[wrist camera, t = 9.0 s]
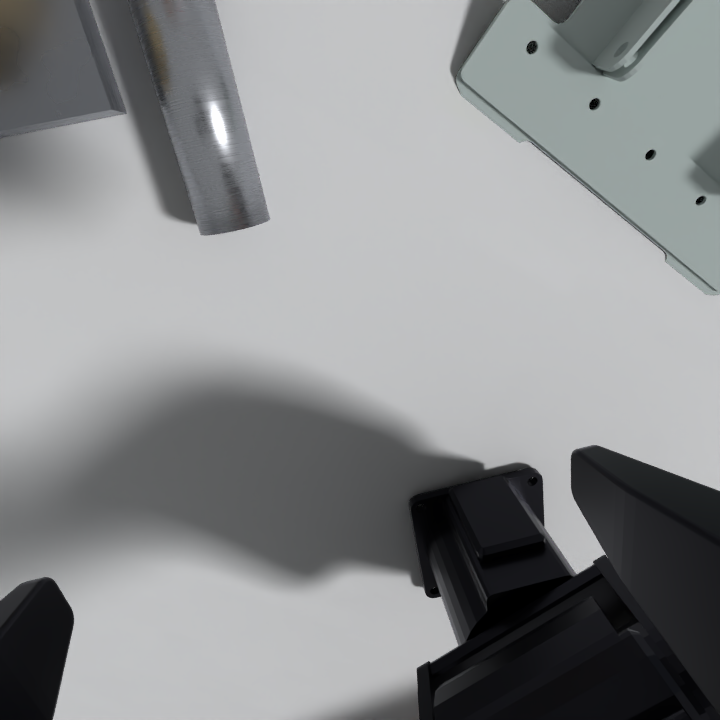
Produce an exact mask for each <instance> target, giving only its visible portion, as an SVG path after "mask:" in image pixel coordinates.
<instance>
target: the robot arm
mask: <svg viewBox="0 0 720 720" xmlns="http://www.w3.org/2000/svg"><path fill="white" fill-rule="evenodd" d="M532 477H533V478H532ZM530 478H532V480H529V479H530ZM528 480H529V481H528ZM571 490H572V494H573V497H574V499H575V501H576V503H577V505H578V507H579V508H580V510H581V512H582V514H583V515H584V517H585V519H586V520H587V522H588V524H589V526H590V527H591V529H592V531H593V533H594V534H595V536H596V538H597V540H598V541H599V543H600V545H601V546H602V548H603V550H604V552H605V553H606V555H607V557H608V558H607V557H606V555H603V556H601V557H600V558H598V559H596V560H595V561H593V563H594V564H593V565H592V566H590V567H588V568H587V569H585V570H584V571H582V572H580V573H579V574H577V575H576V573H575V572H574V570H573V569H572V567H571V566H570V564H569V563H568V561H567V560H566V559H565V557H564V556H563V554H562V553H561V551H560V550H559V548H558V547H557V545H556V544H555V543H554V541H553V540H552V538H551V537H550V535H549V534H548V532H547V531H546V529H545V528H544V505H543V479H542V476H541V475H540V473H539V472H538V471H537V470H536V469H534V468H527V469H523V470H519V471H514V472H510V473H506V474H502V475H498V476H494V477H490V478H485V479H481V480H477V481H473V482H469V483H465V484H461V485H456V486H452V487H448V488H444V489H440V490H436V491H432V492H428V493H423V494H419V495H416V496H414V497H413V498H411V500H410V501H409V509H410V515H411V520H412V526H413V531H414V537H415V542H416V548H417V554H418V559H419V565H420V570H421V576H422V581H423V587H424V590H425V593H426V595H427V596H428V597H429V598H437V597H442V600H443V603H444V606H445V608H446V611H447V614H448V617H449V620H450V623H451V626H452V628H453V631H454V634H455V637H456V640H457V643H458V647H456V648H455V649H453V650H451V651H450V652H448V653H446V654H445V655H443V656H441V657H440V658H438V659H436V660H435V661H433V662H431V663H430V662H429V661H428V662H426V663H425V664H423V665H421V666H420V667H418V668H417V681H418V703H419V719H420V720H720V491H718V490H715V489H713V488H710V487H707V486H705V485H702V484H699V483H697V482H694V481H691V480H689V479H686V478H683V477H681V476H678V475H675V474H673V473H670V472H667V471H665V470H662V469H659V468H657V467H654V466H651V465H649V464H646V463H643V462H641V461H638V460H635V459H633V458H630V457H627V456H625V455H622V454H619V453H617V452H614V451H611V450H609V449H606V448H603V447H601V446H597V445H592V446H588V447H583V448H579V449H576V450H574V451H573V452H572V455H571ZM420 504H424V505H423V506H421V507H417V506H418V505H420ZM434 587H435V588H434ZM73 625H74V615H73V611H72V609H71V607H70V605H69V604H68V602H67V600H66V599H65V597H64V595H63V594H62V592H61V590H60V589H59V587H58V585H57V584H56V582H55V581H54V580H53V579H51V578H49V577H43V578H39V579H35V580H31V581H27V582H24V583H22V584H20V585H19V586H17V587H16V588H15V589H14V590H13V591H11V592H10V593H9V594H8V595H7V596H5V597H4V598H3V599H2V600H1V601H0V720H53V716H54V712H55V708H56V704H57V699H58V695H59V690H60V685H61V681H62V676H63V672H64V667H65V662H66V658H67V653H68V649H69V644H70V640H71V635H72V630H73Z"/></svg>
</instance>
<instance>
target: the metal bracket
mask: <svg viewBox="0 0 720 720" xmlns="http://www.w3.org/2000/svg"><path fill="white" fill-rule="evenodd" d="M530 41H535V42H536V44H537V48H536V50H535V51H534V52H533V53H531V54H528V53H527V51H526V47H527V45H528V43H529V42H530ZM456 84H457V87H458V89H459V91H460V94H461V96H462V97H463V98H465V99H466V100H467V101H468V102H469V103H471V104H472V105H473V106H474V107H476V108H477V109H478V110H479V111H481V112H482V113H483V114H484V115H485V116H487V117H488V118H489V119H490V120H492V121H493V122H494V123H495V124H497V125H498V126H499V127H500V128H501V129H503V130H504V131H505V132H506V133H508V134H509V135H510V136H511V137H513V138H514V139H515V140H516V141H517V142H519V143H521V142H523V141H530V142H532V143H533V144H534V145H536V146H537V147H538V148H539V149H540V150H542V151H543V152H544V153H545V154H546V155H548V156H549V157H550V158H551V159H553V160H554V161H555V162H556V163H557V164H559V165H560V166H561V167H562V168H564V169H565V170H566V171H567V172H568V173H570V174H571V175H572V176H573V177H574V178H576V179H577V180H578V181H579V182H581V183H582V184H583V185H584V186H585V187H587V188H588V189H589V190H590V191H591V192H593V193H594V194H595V195H596V196H598V197H599V198H600V199H601V200H602V201H604V202H605V203H606V204H607V205H609V206H610V207H611V208H612V209H613V210H615V211H616V212H617V213H618V214H619V215H621V216H622V217H623V218H624V219H626V220H627V221H628V222H629V223H630V224H632V225H633V226H634V227H635V228H636V229H638V230H639V231H640V232H641V233H643V234H644V235H645V236H646V237H647V238H649V239H650V240H651V241H652V242H653V243H655V244H656V245H657V246H658V247H660V248H661V249H662V250H663V251H664V252H665V253H666V260H665V262H666V263H668V264H669V265H670V266H671V267H672V268H674V269H675V270H676V271H677V272H679V273H680V274H681V275H682V276H684V277H685V278H686V279H687V280H688V281H690V282H691V283H692V284H693V285H695V286H696V287H697V288H698V289H700V290H701V291H702V292H703V293H704V294H707V295H719V294H720V0H582V1H581V2H580V4H579V5H578V6H577V7H576V9H575V10H574V11H573V13H572V14H571V15H570V17H569V18H568V19H567V20H566V21H565V22H563V23H559V24H557V23H555V22H553V21H552V20H551V19H550V18H549V17H548V16H547V15H546V14H545V13H544V12H543V11H542V10H541V9H540V8H539V7H538V6H537V5H536V4H535V3H533V2H532V1H531V0H507V1H506V2H505V4H504V5H503V7H502V8H501V9H500V11H499V12H498V14H497V15H496V17H495V18H494V20H493V21H492V23H491V24H490V26H489V27H488V29H487V30H486V31H485V33H484V34H483V36H482V37H481V39H480V40H479V42H478V43H477V45H476V46H475V48H474V49H473V51H472V52H471V53H470V55H469V56H468V58H467V59H466V61H465V62H464V64H463V65H462V67H461V68H460V70H459V71H458V73H457V76H456ZM594 98H598V100H599V103H598V105H597V107H596V108H595V109H590V108H589V103H590V102H591V100H593V99H594ZM652 149H653V150H654V154H653V156H652V157H651V158H650V159H646V158H645V155H646V153H647V152H648V151H649V150H652ZM700 196H704V199H703V201H702V202H701V203H699V204H696V200H697V198H698V197H700Z"/></svg>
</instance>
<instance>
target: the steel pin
mask: <svg viewBox="0 0 720 720" xmlns="http://www.w3.org/2000/svg"><path fill="white" fill-rule="evenodd" d="M127 2H128V5H129V8H130V11H131V15H132V18H133V21H134V24H135V27H136V31H137V34H138V37H139V40H140V43H141V46H142V50H143V53H144V56H145V59H146V62H147V66H148V69H149V72H150V75H151V78H152V82H153V85H154V88H155V91H156V94H157V97H158V101H159V104H160V107H161V110H162V113H163V117H164V120H165V123H166V126H167V129H168V133H169V136H170V139H171V142H172V145H173V148H174V152H175V155H176V158H177V161H178V164H179V168H180V171H181V174H182V177H183V180H184V184H185V187H186V190H187V193H188V196H189V199H190V203H191V206H192V209H193V212H194V215H195V219H196V222H197V225H198V228H199V231H200V235H214V234H221V233H227V232H232V231H236V230H241V229H245V228H249V227H252V226H255V225H259V224H262V223H264V222H267V221H268V220H270V217H269V213H268V209H267V205H266V201H265V197H264V193H263V189H262V185H261V181H260V177H259V173H258V169H257V165H256V161H255V158H254V154H253V150H252V146H251V142H250V138H249V134H248V130H247V126H246V122H245V118H244V114H243V110H242V106H241V102H240V98H239V94H238V90H237V86H236V82H235V78H234V74H233V70H232V66H231V63H230V59H229V55H228V51H227V47H226V43H225V39H224V35H223V31H222V27H221V23H220V19H219V15H218V11H217V7H216V3H215V0H127Z"/></svg>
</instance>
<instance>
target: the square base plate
mask: <svg viewBox="0 0 720 720" xmlns="http://www.w3.org/2000/svg"><path fill="white" fill-rule="evenodd" d="M121 114H127V113H126V110H125V107H124V104H123V101H122V98H121V95H120V92H119V89H118V86H117V83H116V80H115V77H114V74H113V71H112V68H111V65H110V62H109V60H108V57H107V54H106V51H105V48H104V45H103V42H102V39H101V36H100V33H99V30H98V27H97V24H96V21H95V18H94V15H93V12H92V9H91V6H90V3H89V1H88V0H0V138H3V137H8V136H13V135H18V134H23V133H28V132H34V131H39V130H44V129H49V128H54V127H59V126H65V125H70V124H75V123H80V122H85V121H90V120H96V119H101V118H106V117H111V116H116V115H121Z"/></svg>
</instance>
